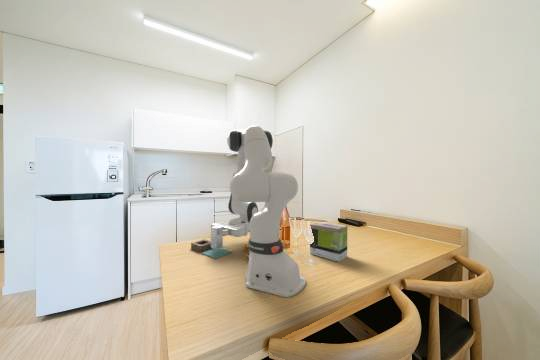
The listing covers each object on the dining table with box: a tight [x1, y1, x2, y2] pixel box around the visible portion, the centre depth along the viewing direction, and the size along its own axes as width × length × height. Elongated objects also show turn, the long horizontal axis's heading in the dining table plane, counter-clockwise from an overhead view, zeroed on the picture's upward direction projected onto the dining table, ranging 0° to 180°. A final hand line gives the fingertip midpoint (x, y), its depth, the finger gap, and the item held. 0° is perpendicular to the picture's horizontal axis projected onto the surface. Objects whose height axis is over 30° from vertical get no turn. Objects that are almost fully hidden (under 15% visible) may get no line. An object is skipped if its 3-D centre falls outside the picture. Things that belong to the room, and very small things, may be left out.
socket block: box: [190, 238, 213, 253], centre depth 105 cm, size 8×8×3 cm
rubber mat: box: [201, 247, 232, 259], centre depth 99 cm, size 10×10×1 cm
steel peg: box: [210, 226, 224, 249], centre depth 99 cm, size 4×4×10 cm
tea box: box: [309, 221, 348, 263], centre depth 97 cm, size 15×10×15 cm
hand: (215, 232), depth 98 cm, fingers closed on steel peg, 4 cm apart
